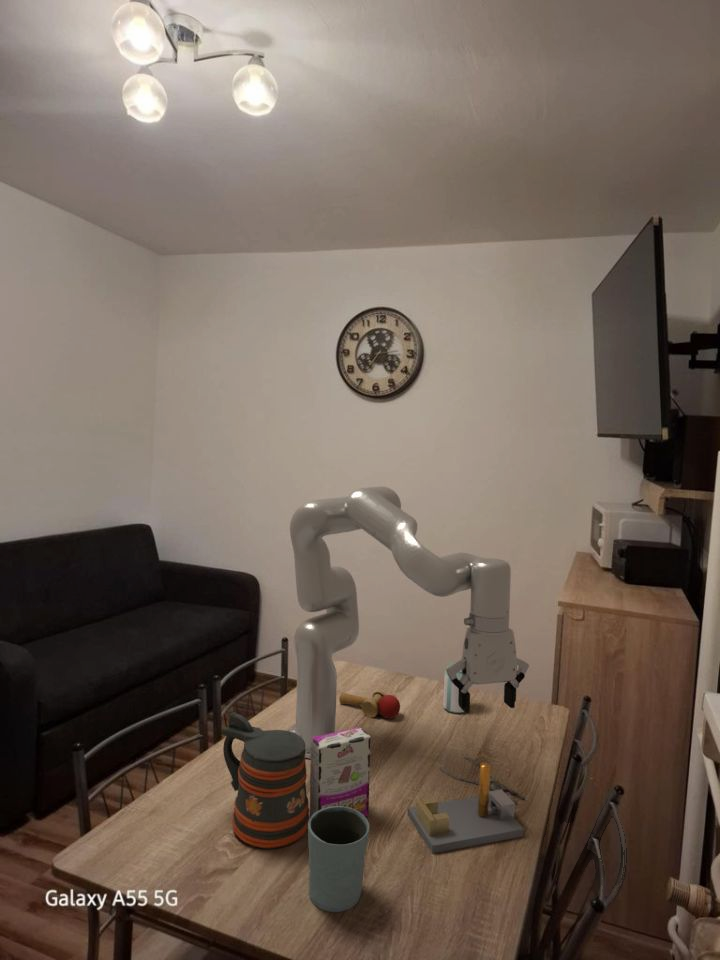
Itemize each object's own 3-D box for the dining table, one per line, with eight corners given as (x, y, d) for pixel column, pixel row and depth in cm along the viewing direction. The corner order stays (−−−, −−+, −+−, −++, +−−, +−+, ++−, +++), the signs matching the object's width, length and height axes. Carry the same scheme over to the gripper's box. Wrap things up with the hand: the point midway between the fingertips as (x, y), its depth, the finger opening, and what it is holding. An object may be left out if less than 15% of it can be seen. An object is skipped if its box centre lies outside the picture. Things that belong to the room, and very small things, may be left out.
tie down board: (432, 853, 114) (432, 845, 114) (407, 814, 126) (407, 807, 126) (523, 836, 120) (523, 829, 120) (491, 800, 132) (492, 794, 132)
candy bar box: (357, 802, 129) (360, 725, 128) (369, 816, 125) (372, 736, 124) (307, 816, 124) (309, 735, 123) (317, 830, 120) (320, 747, 118)
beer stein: (197, 830, 119) (199, 727, 117) (240, 790, 132) (242, 698, 131) (285, 859, 112) (289, 750, 110) (321, 814, 125) (325, 716, 124)
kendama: (333, 714, 172) (391, 722, 163) (334, 690, 173) (391, 697, 164) (348, 709, 179) (405, 716, 170) (348, 686, 180) (405, 692, 171)
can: (453, 701, 180) (455, 660, 179) (473, 709, 175) (475, 668, 174) (437, 707, 176) (439, 666, 175) (457, 716, 170) (459, 673, 169)
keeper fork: (429, 836, 117) (429, 820, 117) (415, 814, 123) (415, 800, 123) (448, 832, 118) (449, 817, 118) (433, 811, 125) (434, 797, 124)
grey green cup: (318, 866, 110) (320, 800, 109) (374, 880, 107) (376, 812, 106) (296, 907, 100) (298, 835, 99) (356, 924, 97) (359, 850, 97)
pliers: (459, 752, 150) (538, 784, 137) (458, 756, 150) (538, 788, 138) (436, 768, 143) (518, 803, 130) (436, 772, 143) (518, 807, 130)
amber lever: (480, 817, 123) (483, 768, 122) (475, 811, 125) (478, 763, 124) (511, 812, 125) (514, 763, 124) (506, 806, 127) (508, 758, 126)
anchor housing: (500, 820, 123) (501, 805, 122) (487, 805, 127) (488, 791, 127) (513, 818, 123) (514, 803, 123) (500, 803, 128) (501, 789, 128)
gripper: (456, 631, 117) (454, 720, 118) (539, 625, 122) (536, 711, 123) (440, 619, 124) (439, 704, 125) (519, 614, 129) (516, 696, 130)
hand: (487, 707), depth 124 cm, fingers open, 9 cm apart
